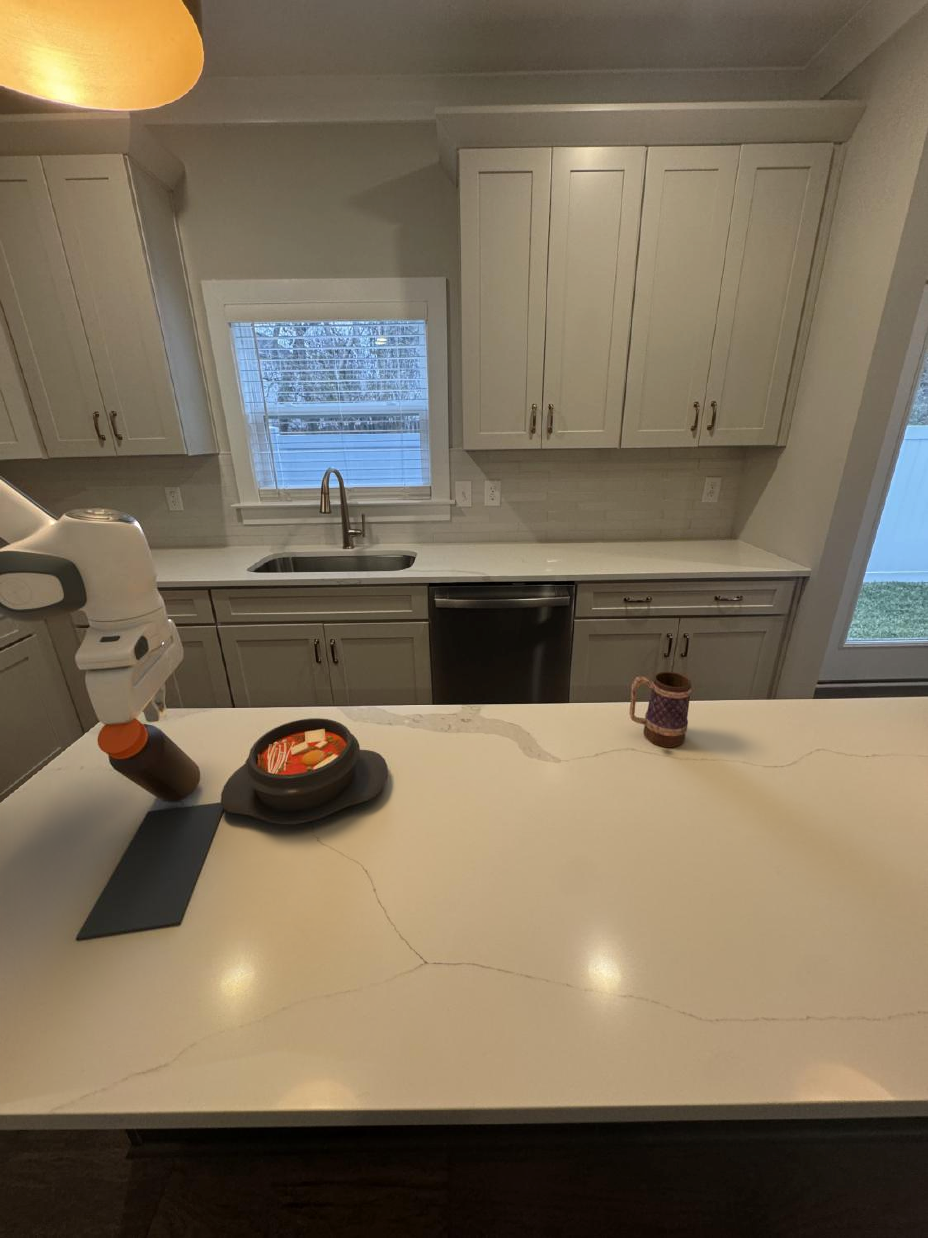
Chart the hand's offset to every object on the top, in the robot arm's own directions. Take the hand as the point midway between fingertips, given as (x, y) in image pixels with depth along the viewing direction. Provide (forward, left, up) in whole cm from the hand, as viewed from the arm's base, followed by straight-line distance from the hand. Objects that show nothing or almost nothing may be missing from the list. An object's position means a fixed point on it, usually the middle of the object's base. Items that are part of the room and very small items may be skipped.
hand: (157, 716), depth 74 cm
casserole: (+20, -3, -14) cm, 25 cm away
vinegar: (0, +1, -12) cm, 12 cm away
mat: (+3, -14, -14) cm, 20 cm away
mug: (+80, 0, -14) cm, 81 cm away
